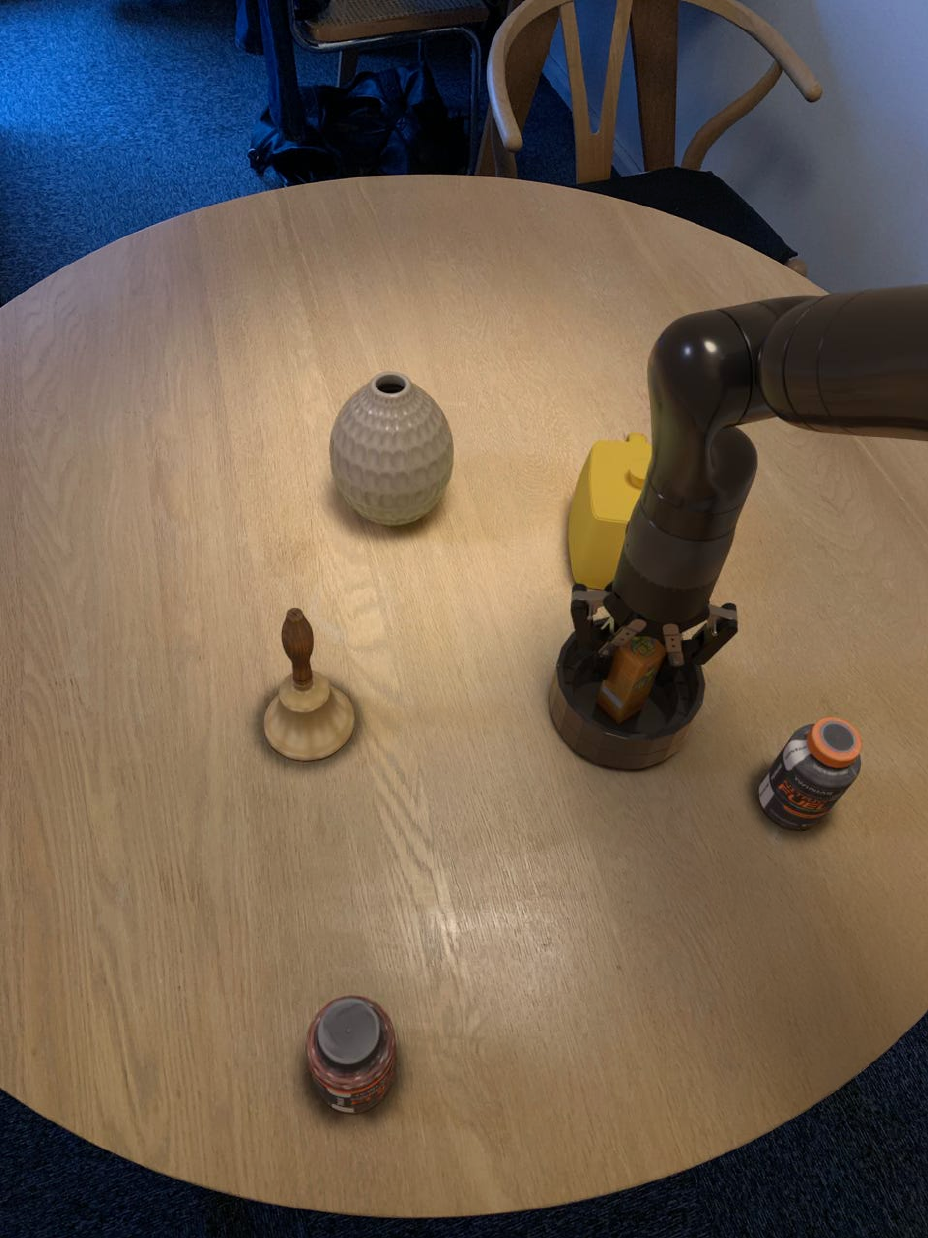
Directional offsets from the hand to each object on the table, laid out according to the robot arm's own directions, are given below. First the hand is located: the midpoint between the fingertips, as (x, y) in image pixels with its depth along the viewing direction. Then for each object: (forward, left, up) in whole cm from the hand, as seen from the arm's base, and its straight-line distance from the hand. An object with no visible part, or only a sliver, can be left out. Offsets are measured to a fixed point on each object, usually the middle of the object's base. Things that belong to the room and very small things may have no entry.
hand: (631, 674), depth 83 cm
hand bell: (+16, +24, -6) cm, 30 cm away
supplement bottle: (-11, +37, -6) cm, 39 cm away
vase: (+34, +2, -6) cm, 35 cm away
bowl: (0, 0, -6) cm, 6 cm away
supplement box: (0, 0, -6) cm, 6 cm away
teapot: (+14, -14, -6) cm, 21 cm away
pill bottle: (-16, -6, -6) cm, 18 cm away
